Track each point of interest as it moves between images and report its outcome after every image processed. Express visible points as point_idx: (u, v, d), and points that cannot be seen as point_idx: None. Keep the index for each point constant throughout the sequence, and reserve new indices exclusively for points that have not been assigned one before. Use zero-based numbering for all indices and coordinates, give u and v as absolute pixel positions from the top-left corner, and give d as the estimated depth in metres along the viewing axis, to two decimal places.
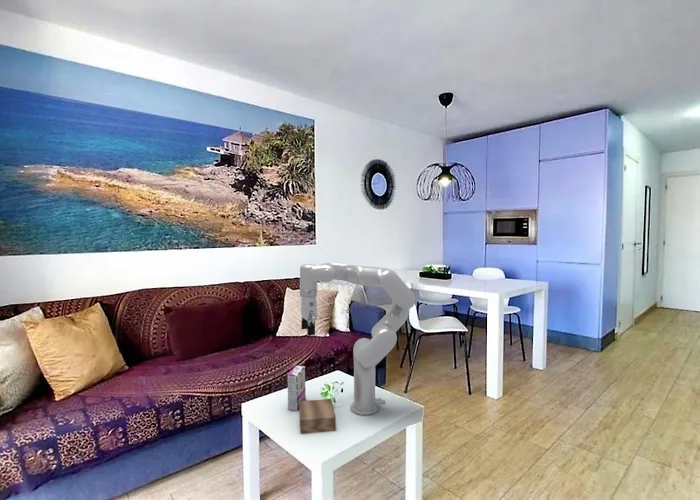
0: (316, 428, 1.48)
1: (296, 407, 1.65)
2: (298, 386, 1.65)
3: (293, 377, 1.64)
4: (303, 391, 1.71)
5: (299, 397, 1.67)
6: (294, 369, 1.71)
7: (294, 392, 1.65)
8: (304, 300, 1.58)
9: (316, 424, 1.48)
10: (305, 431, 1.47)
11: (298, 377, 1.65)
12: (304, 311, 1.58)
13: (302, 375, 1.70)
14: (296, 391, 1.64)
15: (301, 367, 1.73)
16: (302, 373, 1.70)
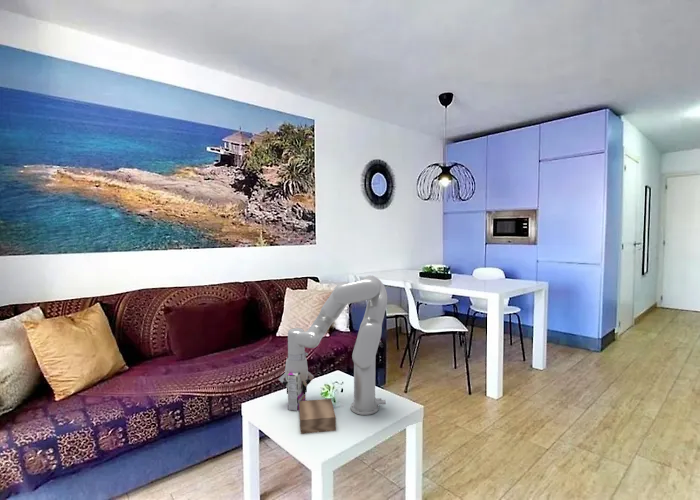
0: (316, 428, 1.48)
1: (296, 407, 1.65)
2: (298, 386, 1.65)
3: (293, 377, 1.64)
4: (303, 391, 1.71)
5: (299, 397, 1.67)
6: None
7: (294, 392, 1.65)
8: (301, 363, 1.67)
9: (316, 424, 1.48)
10: (305, 431, 1.47)
11: (298, 376, 1.65)
12: (301, 373, 1.68)
13: None
14: (296, 391, 1.64)
15: None
16: None
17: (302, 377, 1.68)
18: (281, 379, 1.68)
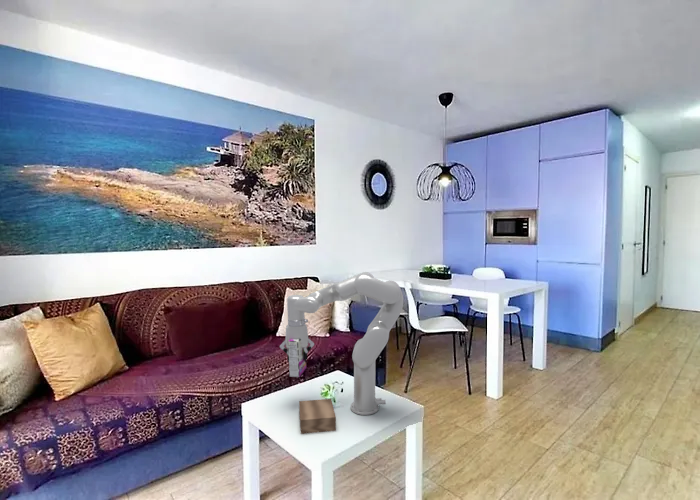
0: (316, 428, 1.48)
1: (297, 373, 1.64)
2: (299, 352, 1.64)
3: (294, 343, 1.63)
4: (303, 359, 1.70)
5: (300, 363, 1.66)
6: None
7: (295, 358, 1.63)
8: (301, 329, 1.66)
9: (316, 424, 1.48)
10: (305, 431, 1.47)
11: (299, 343, 1.64)
12: (302, 340, 1.67)
13: None
14: (297, 357, 1.63)
15: None
16: None
17: (302, 343, 1.67)
18: (281, 346, 1.67)
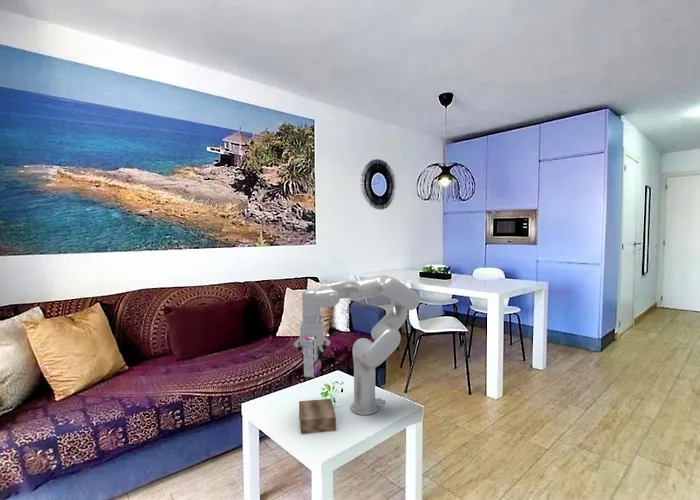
0: (316, 428, 1.48)
1: (312, 373, 1.52)
2: (314, 350, 1.53)
3: (309, 341, 1.51)
4: (319, 358, 1.59)
5: (316, 363, 1.54)
6: None
7: (310, 356, 1.52)
8: (317, 326, 1.54)
9: (316, 424, 1.48)
10: (305, 431, 1.47)
11: (314, 340, 1.53)
12: (317, 337, 1.55)
13: None
14: (312, 356, 1.52)
15: None
16: None
17: (318, 341, 1.55)
18: (296, 344, 1.56)
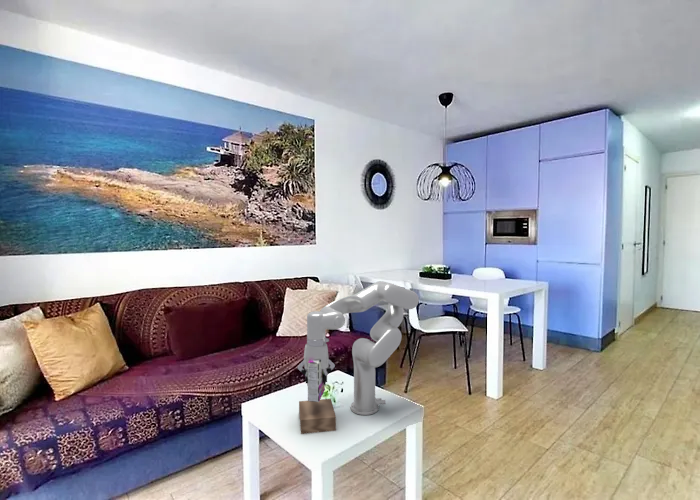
0: (316, 428, 1.48)
1: (317, 398, 1.50)
2: (319, 374, 1.50)
3: (314, 365, 1.49)
4: (322, 381, 1.56)
5: (320, 387, 1.52)
6: None
7: (315, 381, 1.49)
8: (322, 349, 1.52)
9: (316, 424, 1.48)
10: (305, 431, 1.47)
11: (319, 364, 1.50)
12: (322, 361, 1.52)
13: None
14: (317, 380, 1.49)
15: None
16: None
17: (323, 365, 1.53)
18: (300, 367, 1.53)
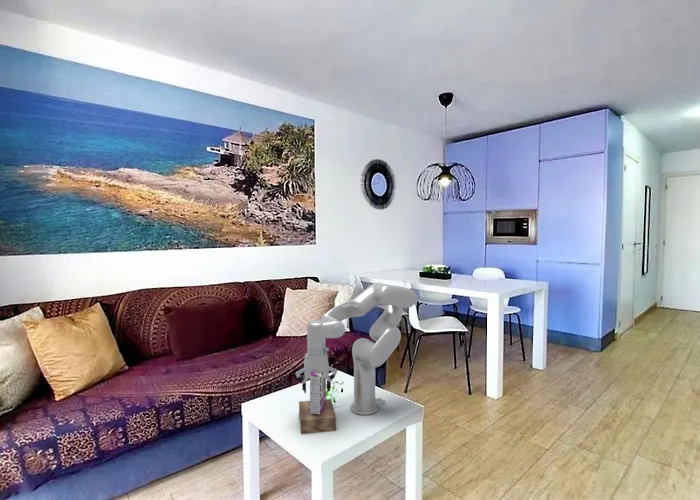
0: (316, 428, 1.48)
1: (319, 411, 1.50)
2: (321, 387, 1.51)
3: (317, 377, 1.50)
4: (324, 393, 1.57)
5: (322, 400, 1.53)
6: None
7: (317, 394, 1.50)
8: (322, 358, 1.52)
9: (316, 425, 1.48)
10: (305, 431, 1.47)
11: (322, 377, 1.51)
12: (322, 370, 1.53)
13: None
14: (319, 393, 1.50)
15: None
16: None
17: (323, 374, 1.53)
18: (298, 374, 1.53)
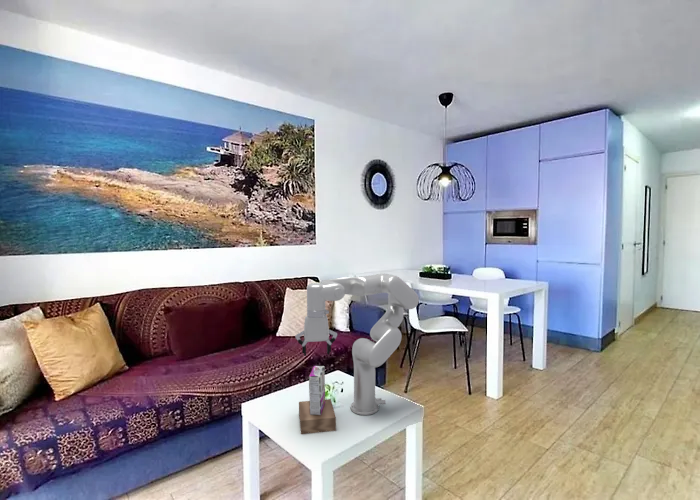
0: (316, 429, 1.48)
1: (319, 411, 1.50)
2: (321, 388, 1.51)
3: (316, 378, 1.49)
4: (323, 393, 1.57)
5: (322, 400, 1.53)
6: (314, 369, 1.56)
7: (317, 394, 1.50)
8: (322, 321, 1.51)
9: (316, 425, 1.48)
10: (305, 432, 1.47)
11: (321, 377, 1.51)
12: (322, 332, 1.52)
13: (323, 376, 1.56)
14: (319, 393, 1.50)
15: (321, 367, 1.58)
16: (323, 373, 1.56)
17: (323, 336, 1.52)
18: (297, 336, 1.52)
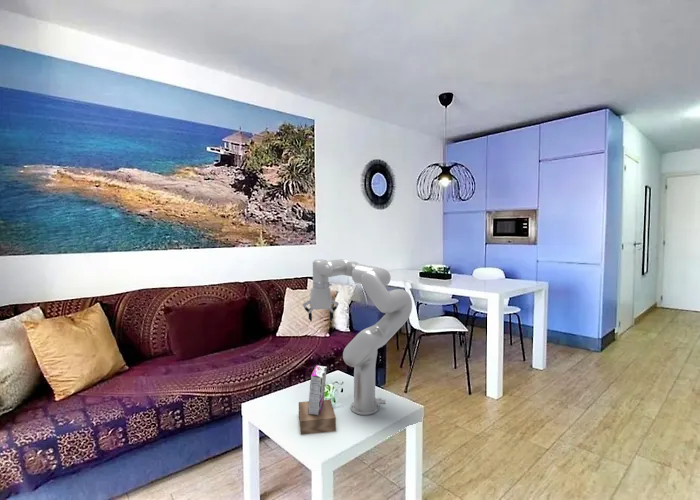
0: (316, 429, 1.48)
1: (317, 411, 1.50)
2: (321, 388, 1.50)
3: (317, 378, 1.49)
4: (323, 394, 1.57)
5: (321, 400, 1.52)
6: (316, 369, 1.55)
7: (317, 394, 1.49)
8: (325, 291, 1.77)
9: (316, 425, 1.47)
10: (305, 432, 1.47)
11: (322, 378, 1.50)
12: (326, 301, 1.77)
13: (324, 376, 1.55)
14: (319, 394, 1.49)
15: (323, 367, 1.58)
16: (324, 374, 1.55)
17: (326, 305, 1.78)
18: (304, 305, 1.78)
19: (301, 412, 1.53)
